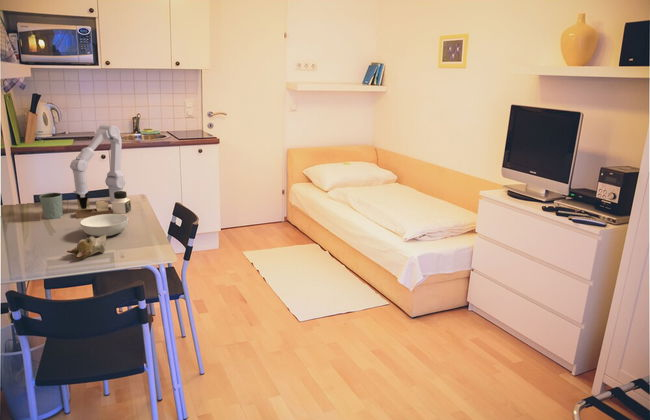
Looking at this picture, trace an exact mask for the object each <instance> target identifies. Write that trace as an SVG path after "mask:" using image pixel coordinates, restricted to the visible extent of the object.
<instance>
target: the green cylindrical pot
mask: <svg viewBox="0 0 650 420" xmlns="http://www.w3.org/2000/svg"><path fill="white" fill-rule="evenodd" d="M38 198H39V201H40V205H41V209H42V213H43V217H44V219H46V220H58V219H61V218H62V217H63V216H64V210H63V209H64V207H63V194H62V193H60V192H48V193H43V194H40V195H39V197H38Z"/></svg>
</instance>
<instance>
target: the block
mask: <svg viewBox="0 0 650 420" xmlns="http://www.w3.org/2000/svg"><path fill="white" fill-rule="evenodd" d="M95 206H96V208H97V212H98V211H107V210H109V209H108V207H109V201H108V200H102V201H101V200H100V201H99V200H98V201H95ZM96 208H95V209H96Z"/></svg>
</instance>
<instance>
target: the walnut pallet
mask: <svg viewBox="0 0 650 420" xmlns="http://www.w3.org/2000/svg"><path fill="white" fill-rule="evenodd" d="M108 209H109V210H107V211H98V212H97V208H90V209H86V210H78V209H77V210H74V215H75V219H76V220H79V219H85V218H88V217H91V216H96V215H103V214H113V211H112V206H108Z"/></svg>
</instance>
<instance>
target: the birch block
mask: <svg viewBox="0 0 650 420" xmlns="http://www.w3.org/2000/svg"><path fill="white" fill-rule="evenodd" d="M76 200H77V201H76V202H77V210H86V209H91V207H90V199H89V198H88V199H87V207H86V209H82V208H81V205H80V202H79V200H78V199H76Z"/></svg>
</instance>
